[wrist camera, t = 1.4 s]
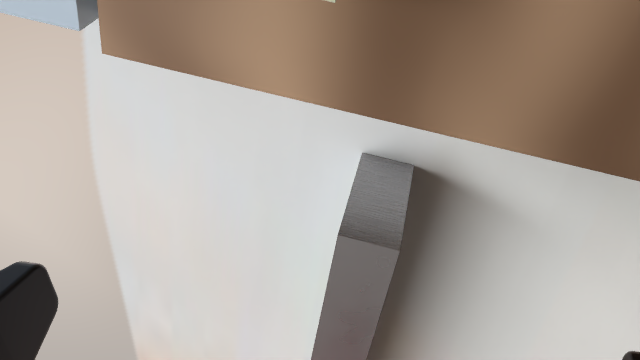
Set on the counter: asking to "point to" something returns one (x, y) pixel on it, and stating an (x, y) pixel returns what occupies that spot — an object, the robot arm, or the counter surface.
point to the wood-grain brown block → (419, 64)
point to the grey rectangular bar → (363, 259)
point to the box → (54, 11)
